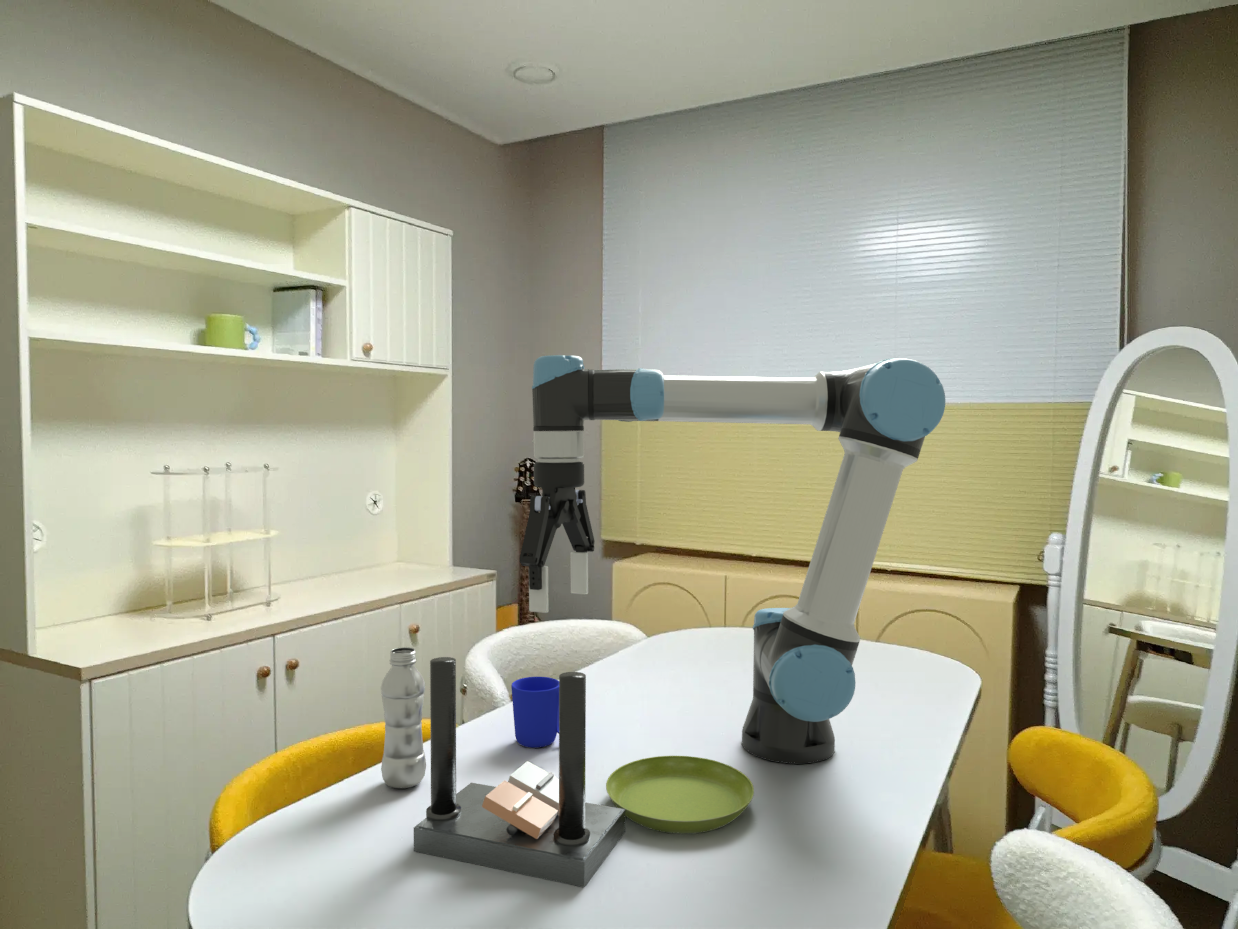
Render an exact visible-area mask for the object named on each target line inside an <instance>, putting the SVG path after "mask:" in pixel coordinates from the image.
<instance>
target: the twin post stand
mask: <svg viewBox="0 0 1238 929" xmlns="http://www.w3.org/2000/svg"><path fill="white" fill-rule="evenodd" d="M429 664H430V666H429V667H430V668H429V669H430V670H429V671H430V672H429V676H430V677H429V678H430V679H429V680H430V681H429V682H430V684H429V685H430V687H429V688H430V689H429V690H430V691H429V692H430V694H429V695H430V704H429V705H430V714H429V715H430V717H429V718H430V805H429V806H427V808H426V810H425V813H426V814H425V815H426V817H425V818H424V819H423V820H421V821H420V822H418V824H416V825H415V826H414V827H413V852H416V853H417V852H418V853H421V854H426V855H429V856H430V855H431V856H434V857H435V856H436V857H440V858H444V859H448V860H455V861H459V862H463V863H468V864H472V865H476V866H477V865H478V866H483V867H486V868H487V867H488V868H492V869H497V870H499V871H500V870H502V871H505V872H509V873H510V872H511V873H515V874H521V875H525V876H529V877H534V878H539V879H543V880H549V881H554V882H557V883H562V884H568V885H572V886H577V887H582V888H585V887H586V886H587V884H588V883H589V882H590V880H591V879H592V878H593V876H594V875H595V873H596V872H597V871H598V870H599V868H600V867H601V866H602V864H603V863H604V861H605V860H606V858H607V857H608V856H609V854H610V853H611V852H612V851H613V849H614V847H616V845H617V844H618V842H620V839H622V837H623V835H624V834H625V833H626V816H625V809H621V808H617V807H616V806H608V805H602V804H596V803H591V802H586V748H587V747H586V742H587V740H586V736H587V735H586V731H587V730H586V726H587V724H586V723H587V722H586V720H587V717H586V716H587V715H586V714H587V711H586V710H587V708H586V706H587V702H586V701H587V699H586V697H587V695H586V693H587V692H586V690H587V681H586V680H587V679H586V678H587V674H585V673H583V672H579V671H567V672H562V673H560V674H559V675H558V679H559V680H558V681H559V734H558V778H559V815H556V818H555V820H554V822H553V823H552V824H551V825H550V826H549V827H548V828H547V829H546V830H545V831H544V832H543V833H542V835H541V836H540V837H539V838H538V839H536V838H534V837H532V836H530V835H529V834H527V833H525V832H524V831H522V830H520V829H519V828H517V827H515V826H513V825H512V824H510V823H508V822H507V821H505V820H503V819H502V818H500V817H498V816H496V815H495V814H493V813H491V812H490V811H488V810H486V809H485V808H483V807H482V805H483V802H484V799H485V796H486V795H487V794H489V793H490V792H491V791H492V790H493V789H495V788H496V787H497V786H495V785H494V786H493V785H488V784H481V783H477V782H470V783H468V785H466V786H465V787H463V788H462V789H460V790H459V792H457V660H456V658H454V657H450V656H440V657H435V658H431V660H429Z"/></svg>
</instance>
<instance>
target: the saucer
mask: <svg viewBox="0 0 1238 929" xmlns="http://www.w3.org/2000/svg"><path fill="white" fill-rule="evenodd" d="M605 788H606V790H605V791H606V793H607V795H608V797H609V798H610V800H611V802H612V803H613V805H614V807H615V808H621V809H625V817H626V818H628V819H629V820H631V821H632V822H634V823H636V824H637V825H639V826H641V827H644V828H646V829H649V830H653V831H658V832H662V833H668V834H679V835H680V834H681V835H683V834H684V835H686V834H687V835H688V834H689V835H690V834H699V833H705V832H710V831H714V830H716V829H719V828H723V827H724V826H726V825H728V824H730V823H732V822H733V821H734V820H736V819H737V818H738V817H740V815H741V814H743V812H744V811H745V810H746V809H747V807H748V806H749V805H750V803H751V801H753V800H752V799H753V798H754V796H755V795H754V794H755V788H754V784H753V782H752V780H750V778H749V777H748V776H747V775H746V774H745V773H743V772H742V771H740V770H738V769H737V768H735V767H733V766H731V765H730V764H729V765H728V764H726V763H724V762H722V761H721V762H720V761H717V760H714V759H709V758H706V757H705V758H703V757H699V756H690V755H661V756H660V755H658V756H651V757H645V758H640V759H636V760H633V761H630V762H628V763H625V764H623V765H621V766H619V767H618V768H616V769H615V770H613V771H612V772H611V774H610V775H609V776H608V778H607V779H606V783H605Z"/></svg>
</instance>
